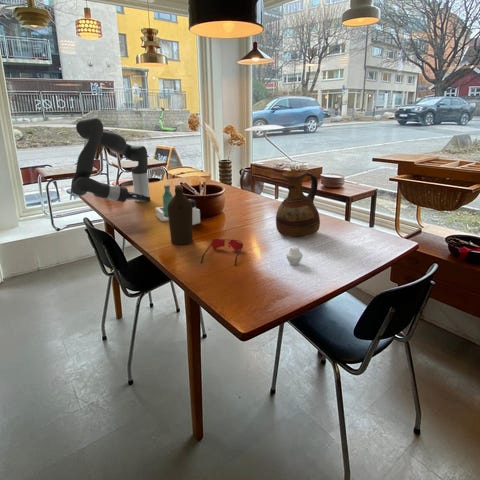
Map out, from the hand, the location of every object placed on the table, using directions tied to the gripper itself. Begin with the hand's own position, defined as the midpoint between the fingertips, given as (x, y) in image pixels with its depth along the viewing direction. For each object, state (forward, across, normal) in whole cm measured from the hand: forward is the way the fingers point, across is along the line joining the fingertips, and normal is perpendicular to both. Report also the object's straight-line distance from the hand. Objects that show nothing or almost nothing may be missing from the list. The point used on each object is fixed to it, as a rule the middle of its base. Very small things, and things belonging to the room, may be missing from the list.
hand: (146, 199), depth 192 cm
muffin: (+22, -87, +18) cm, 91 cm away
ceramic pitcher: (+45, -66, +6) cm, 80 cm away
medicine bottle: (+17, -20, +9) cm, 27 cm away
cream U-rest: (+13, -4, +7) cm, 15 cm away
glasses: (+6, -63, +20) cm, 67 cm away
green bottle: (+12, -4, +6) cm, 14 cm away
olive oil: (+1, -39, +18) cm, 42 cm away
